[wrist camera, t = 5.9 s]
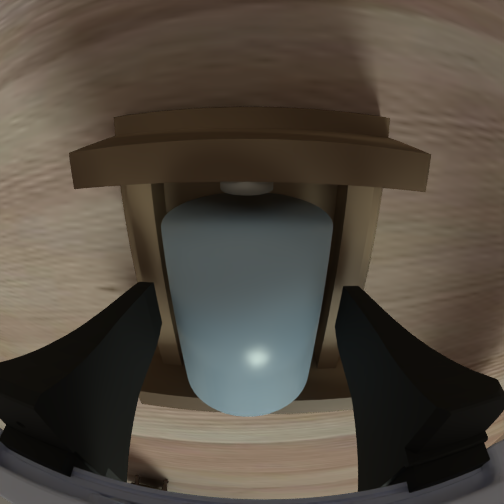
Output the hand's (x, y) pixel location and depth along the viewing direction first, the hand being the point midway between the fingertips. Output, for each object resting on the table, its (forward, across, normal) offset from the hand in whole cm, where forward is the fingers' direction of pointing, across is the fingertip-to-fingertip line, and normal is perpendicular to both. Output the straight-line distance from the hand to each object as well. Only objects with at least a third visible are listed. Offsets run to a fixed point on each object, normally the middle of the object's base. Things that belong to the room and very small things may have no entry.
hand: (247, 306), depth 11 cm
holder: (+4, 0, 0) cm, 4 cm away
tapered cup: (+3, 0, 0) cm, 3 cm away
